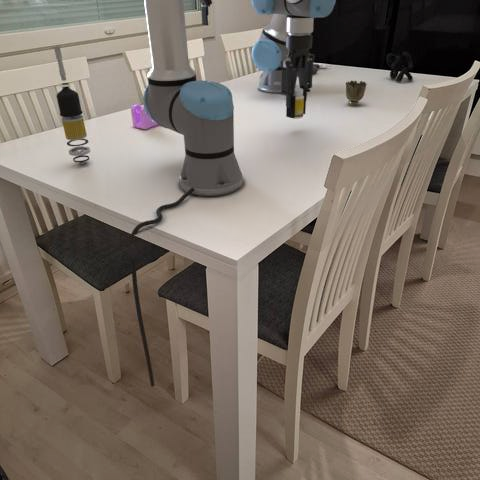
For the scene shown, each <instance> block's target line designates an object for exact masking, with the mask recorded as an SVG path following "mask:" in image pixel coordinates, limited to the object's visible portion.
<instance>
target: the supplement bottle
mask: <svg viewBox="0 0 480 480" xmlns="http://www.w3.org/2000/svg"><path fill="white" fill-rule="evenodd" d="M294 96H296V98H295V118H290V117H288V118H289V119H293V120H298V119H299V120H300V119H302V118H303V117H304V114H303V109H304V96H303V89H302V88H300V87H295V91H294Z"/></svg>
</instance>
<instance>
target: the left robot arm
mask: <svg viewBox="0 0 480 480" xmlns="http://www.w3.org/2000/svg"><path fill="white" fill-rule="evenodd" d="M143 1H144V10H145V17H146V18H145V19H146V25H147V31H148V32H147V33H148V40H149V48H150V55H151V56H150V57H151V65H152V68H151V70H150V71H149V72H148V73H147V85H146V88H145V89H144V91H143V95H142V103H143V106H144V108H145V111H146V112H145V113H147V114H148V116H149V117H150V118H151V119H152V120H153V121H154V122H156V123H157V124H159V126H160V127H162V128H164V129H168V130H170V131H173V132H175V133H177V134H180V135H182V136H183V143H184V154H185V155H184V158H183V164H182V168H181V171H180V176H179V183H180V184H179V185H180V188H181V189H182V191H184V194H182V196H181V197H179V199H177V200H176V201H174V202H172V203H167V204H163V205H160V206H159V207H157V209H156V215H157V217H156V218H155V219H150V220H145V221H141V222H140V223H138V224H137V225H136V226H135V227H134V228H133V229H132V232H131V234H130V236H136V235H137V233H138V232H139V230H141V229H142V228H143V227H147V226H151V225H155V224H158V223H159V222H161V221H162V219H163V215H162V211H163V210H166V209H172V208H175V207H177V206H179V205H180V204H182V203H183V202H184V201H185V200H186V198H188V197H189V196H190V195H194V196H199V197H221V196H224V195H229V194H232V193H234V192H235V191H237V190H239V189H240V188H241V187H242V185H243V174H242V171H241V168H240V165H239V163H238V160H237V157H236V154H235V129H234V128H235V126H234V123H235V121H234V118H235V117H234V114H235V113H234V112H235V110H234V109H235V105H234V101H233V94H232V91H231V90H230V89H229V87H227V86H226V85H224V84H222V83H220V82H217V81H208V80H197V71H196V70H195V69H194V68H192V67H191V66H190V61H189V50H188V49H189V48H188V38H187V26H186V16H185V15H186V14H185V3H184V0H143ZM251 5H252V8H253V9H254V11H255V13H257V14H258V15H263V16H265V15H266V16H269V15H274V14H283V15H287V30H286V32H287V33H289V34H287V36H286V48H287V49H288V51H289V52H288V56H287V59H286V60H281V66H282V86H281V93H280V95H282V96H285V107H286V109H285V110H286V113H285V117H286V118H289V117H290V118H289V119H292V118H295V98H296V96H294V91H295V88H296V85H297V80H298V85H299V86H298V88H302V89H303V96H304V109H303V115H306V109H307V107H306V105H307V100H308V99H307V97H308V93H310V92H311V89H312V88H313V77H314V74H313V64H314V63H315V57H316V55H315V53H314V54H313V53H310V50H311V49H312V48H313V34H312V33H313V32H314V23H315V22H314V21H315V20H314V19H316V18H326V17H328V16H329V15H331V13H332V12H333V10H334V7H335V5H336V0H251ZM297 74H298V76H297ZM130 261H131V263H130V266H131V279H132V288H133V297H134V303H135V309H136V315H137V316H136V317H137V321H138V326H139V332H140V336H141V341H142V345H143V350H144V356H145V360H146V366H147V371H148V377H149V383H150V387H151V388H152V387H155V380H154V379H155V378H154V374H153V373H154V372H153V368H152V362H151V357H150V351H149V346H148V342H147V335H146V332H145V331H146V330H145V326H144V319H143V313H142V310H141V309H142V308H141V303H140V295H139V287H138V279H137V278H138V277H137V260H135V259H130Z"/></svg>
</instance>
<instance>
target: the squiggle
mask: <svg viewBox="0 0 480 480" xmlns="http://www.w3.org/2000/svg"><path fill="white" fill-rule="evenodd" d="M401 57H402V59H401ZM391 59H392V60H391ZM393 60H394V61H393ZM385 61H386V64H387V67H390V68H391V70H390V72H389V78H390V79H391V80H395V79H396V81H397V82H399V83H400V82H402V81H403V79H404V76H406V78H407V80H408V81H412V80H413V79H414V77H413V75H412V74H411V73H410V72H409V71H410V70H412V69H413V68H414V64H413V61H412V57H411V54H410V53H409V52H408V51H403V53H402V54H401V55H396V54H394V53H392V52H390V53H387V55H386V57H385ZM406 62H407V65H408V66H407V67H405V66H404V65H405V64H406ZM400 70H401V71H400Z"/></svg>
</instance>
